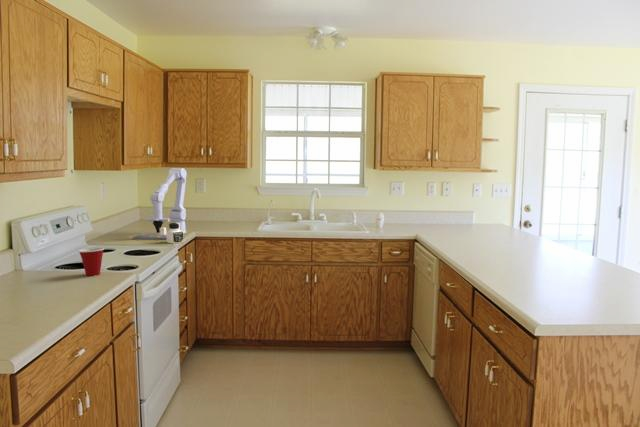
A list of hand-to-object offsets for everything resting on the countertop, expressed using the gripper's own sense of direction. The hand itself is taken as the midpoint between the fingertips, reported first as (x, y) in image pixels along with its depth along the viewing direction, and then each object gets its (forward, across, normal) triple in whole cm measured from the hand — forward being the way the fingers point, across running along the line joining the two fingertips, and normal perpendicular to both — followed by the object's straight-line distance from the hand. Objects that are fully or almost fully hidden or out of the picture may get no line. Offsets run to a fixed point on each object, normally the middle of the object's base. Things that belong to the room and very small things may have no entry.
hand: (158, 232), depth 328 cm
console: (+3, -3, 0) cm, 4 cm away
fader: (+2, +3, 0) cm, 4 cm away
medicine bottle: (+4, +16, -14) cm, 22 cm away
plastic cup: (+4, +10, -97) cm, 98 cm away
